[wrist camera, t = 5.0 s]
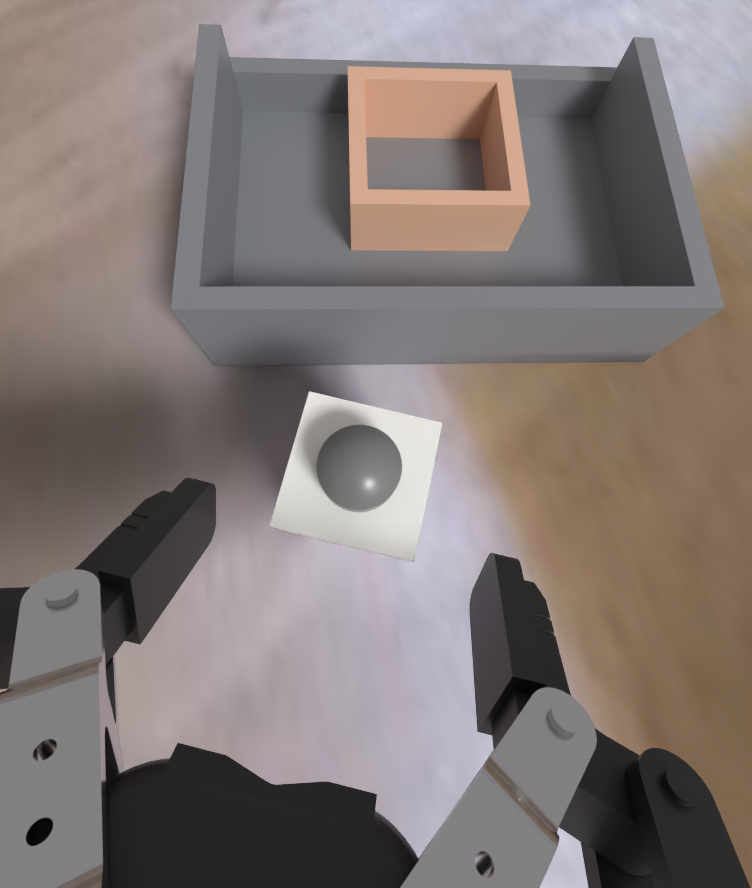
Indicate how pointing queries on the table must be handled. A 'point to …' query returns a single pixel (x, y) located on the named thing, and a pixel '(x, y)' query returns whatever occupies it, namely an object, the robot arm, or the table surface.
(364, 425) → the plug
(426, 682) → the table surface
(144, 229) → the table surface
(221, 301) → the walled box
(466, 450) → the table surface
